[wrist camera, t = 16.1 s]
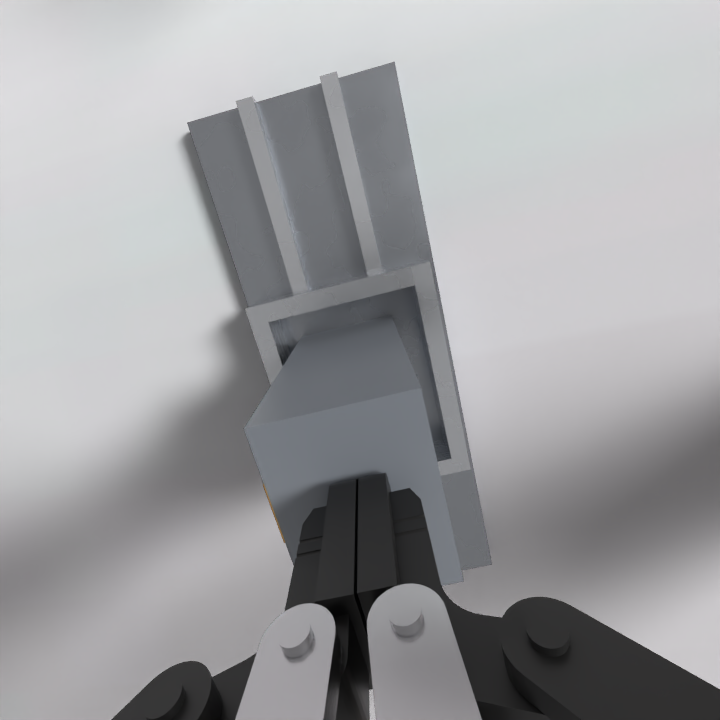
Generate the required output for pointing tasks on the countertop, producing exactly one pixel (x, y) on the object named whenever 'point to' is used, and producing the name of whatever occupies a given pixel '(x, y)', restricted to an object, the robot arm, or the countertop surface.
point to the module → (349, 431)
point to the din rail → (340, 243)
